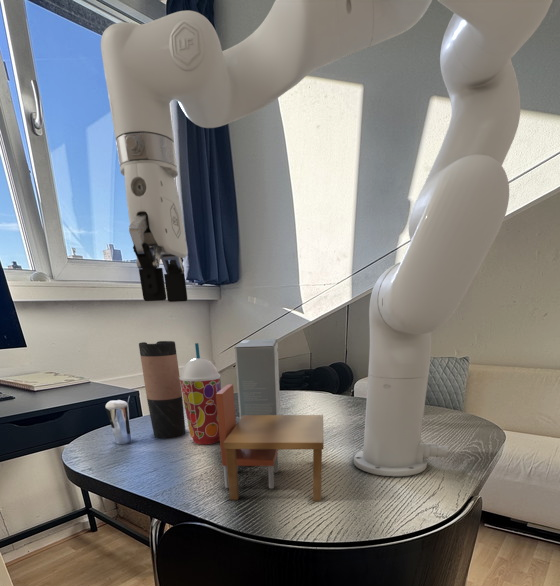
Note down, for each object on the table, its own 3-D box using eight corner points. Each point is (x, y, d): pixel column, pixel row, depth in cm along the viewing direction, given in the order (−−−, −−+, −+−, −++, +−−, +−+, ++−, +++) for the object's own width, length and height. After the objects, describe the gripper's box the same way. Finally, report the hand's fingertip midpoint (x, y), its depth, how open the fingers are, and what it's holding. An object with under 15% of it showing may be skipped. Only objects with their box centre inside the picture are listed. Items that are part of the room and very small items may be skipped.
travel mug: (178, 439, 91) (165, 343, 82) (146, 438, 92) (131, 344, 84) (191, 430, 97) (181, 340, 89) (162, 429, 99) (149, 341, 90)
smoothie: (194, 435, 94) (183, 342, 85) (230, 435, 92) (222, 341, 84) (181, 446, 86) (168, 345, 78) (220, 447, 85) (210, 344, 77)
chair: (278, 470, 71) (276, 383, 65) (274, 488, 64) (271, 393, 58) (233, 470, 72) (227, 384, 66) (224, 488, 65) (215, 393, 59)
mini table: (322, 464, 74) (323, 414, 71) (322, 501, 60) (323, 442, 56) (246, 463, 76) (242, 415, 72) (228, 500, 61) (223, 442, 57)
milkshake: (134, 444, 88) (125, 398, 84) (109, 445, 88) (99, 398, 84) (141, 438, 92) (133, 393, 88) (117, 439, 92) (108, 394, 88)
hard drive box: (248, 429, 97) (243, 339, 89) (281, 428, 97) (278, 338, 89) (240, 449, 83) (233, 345, 75) (278, 449, 83) (275, 344, 74)
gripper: (149, 134, 47) (171, 299, 54) (193, 176, 63) (206, 300, 70) (88, 139, 48) (118, 301, 55) (146, 180, 63) (163, 302, 71)
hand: (167, 301), depth 62 cm, fingers open, 9 cm apart
